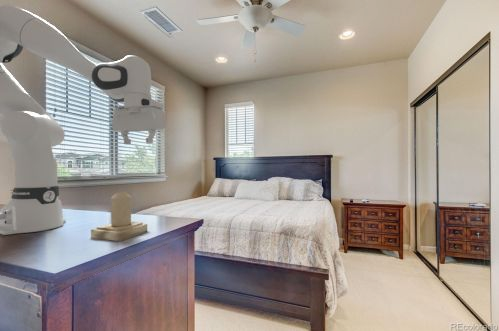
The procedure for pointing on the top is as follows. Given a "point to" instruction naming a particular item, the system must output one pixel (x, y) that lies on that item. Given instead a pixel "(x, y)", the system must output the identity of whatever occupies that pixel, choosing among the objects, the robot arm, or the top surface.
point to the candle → (121, 209)
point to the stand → (118, 231)
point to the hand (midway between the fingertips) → (138, 143)
